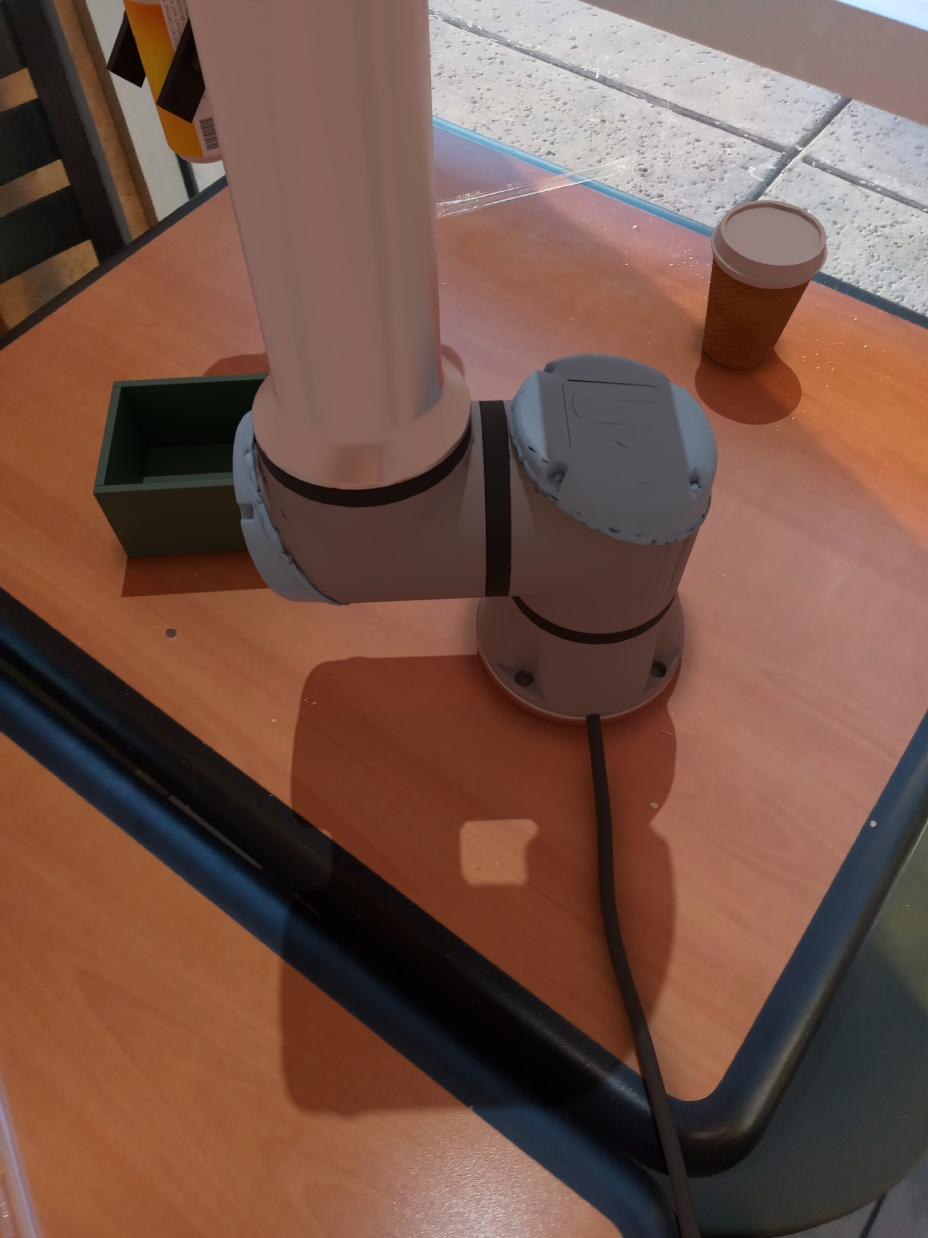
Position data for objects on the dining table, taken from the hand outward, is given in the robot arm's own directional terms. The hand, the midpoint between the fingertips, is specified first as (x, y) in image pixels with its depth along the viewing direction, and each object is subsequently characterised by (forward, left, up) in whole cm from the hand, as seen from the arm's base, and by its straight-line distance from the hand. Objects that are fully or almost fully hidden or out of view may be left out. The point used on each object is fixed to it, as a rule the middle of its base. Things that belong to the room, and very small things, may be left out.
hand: (148, 95), depth 67 cm
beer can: (+2, -3, -6) cm, 7 cm away
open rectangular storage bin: (-20, -2, -22) cm, 30 cm away
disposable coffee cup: (-5, -48, -22) cm, 53 cm away
